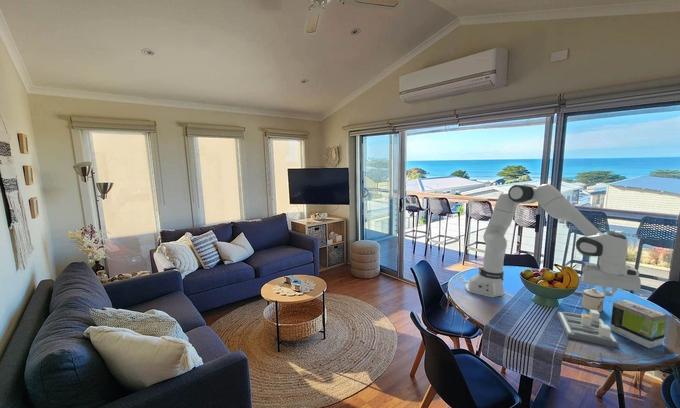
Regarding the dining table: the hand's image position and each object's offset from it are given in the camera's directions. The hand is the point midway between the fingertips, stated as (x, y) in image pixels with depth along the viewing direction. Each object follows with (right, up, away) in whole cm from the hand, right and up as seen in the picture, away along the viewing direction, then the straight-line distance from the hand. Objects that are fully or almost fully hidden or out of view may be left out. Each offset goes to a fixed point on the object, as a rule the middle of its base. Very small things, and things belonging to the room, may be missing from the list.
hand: (608, 295), depth 136 cm
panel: (-6, -19, +6) cm, 20 cm away
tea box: (+12, -19, -1) cm, 23 cm away
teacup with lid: (+16, -15, +26) cm, 34 cm away
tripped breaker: (-6, -17, +6) cm, 18 cm away
